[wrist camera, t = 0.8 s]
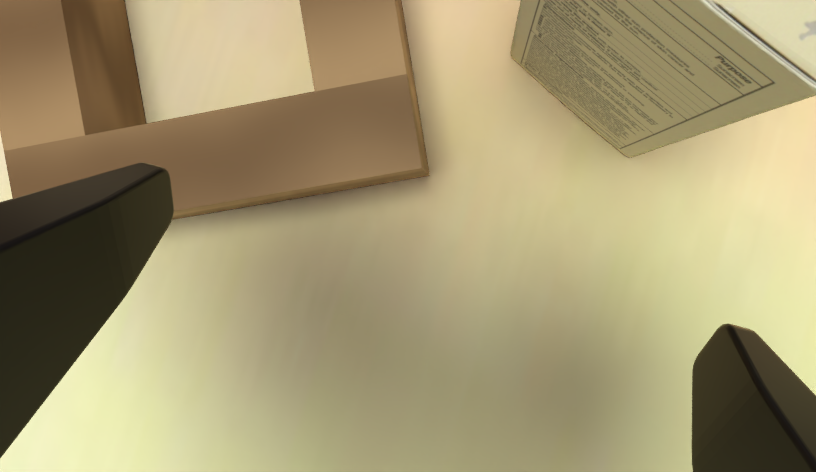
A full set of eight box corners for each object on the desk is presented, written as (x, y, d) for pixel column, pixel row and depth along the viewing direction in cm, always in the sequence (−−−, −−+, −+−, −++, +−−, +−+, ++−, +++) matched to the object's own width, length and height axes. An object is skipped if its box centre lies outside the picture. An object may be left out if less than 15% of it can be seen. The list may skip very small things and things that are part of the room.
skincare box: (709, 73, 21) (1044, -114, 9) (624, 165, 21) (833, 107, 9) (578, -38, 21) (730, -366, 9) (498, 55, 22) (540, -140, 10)
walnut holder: (429, 175, 22) (421, 167, 18) (95, 232, 24) (20, 237, 20) (370, -190, 22) (349, -280, 18) (33, -108, 23) (-57, -174, 19)
